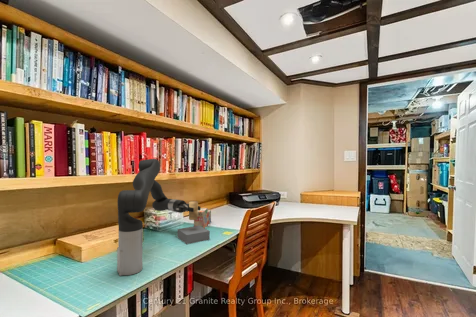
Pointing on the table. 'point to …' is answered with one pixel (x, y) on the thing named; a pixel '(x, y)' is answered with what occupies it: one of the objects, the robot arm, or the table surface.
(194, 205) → the cylinder
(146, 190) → the robot arm
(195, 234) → the plinth
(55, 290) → the table surface
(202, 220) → the printed cardboard box
